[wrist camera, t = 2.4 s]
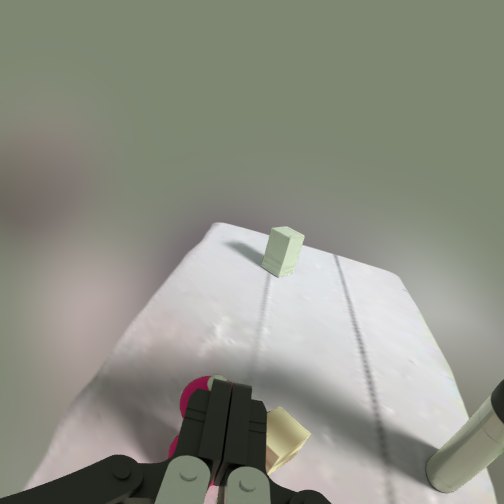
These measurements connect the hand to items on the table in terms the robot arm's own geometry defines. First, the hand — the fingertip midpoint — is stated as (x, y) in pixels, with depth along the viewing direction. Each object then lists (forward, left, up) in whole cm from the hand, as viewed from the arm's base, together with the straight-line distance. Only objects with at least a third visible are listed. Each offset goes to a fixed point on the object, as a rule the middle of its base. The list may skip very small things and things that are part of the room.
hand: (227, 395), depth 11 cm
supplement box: (-61, -46, -30) cm, 82 cm away
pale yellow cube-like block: (-17, -4, -30) cm, 35 cm away
